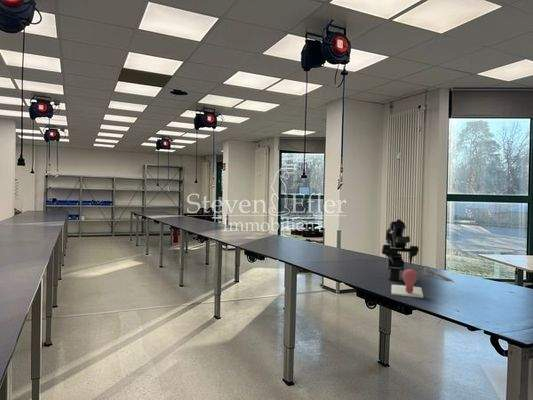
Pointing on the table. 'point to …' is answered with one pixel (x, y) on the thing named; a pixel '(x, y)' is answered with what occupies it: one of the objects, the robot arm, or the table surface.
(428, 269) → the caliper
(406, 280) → the light bulb
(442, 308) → the table surface
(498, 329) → the table surface
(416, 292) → the mat
